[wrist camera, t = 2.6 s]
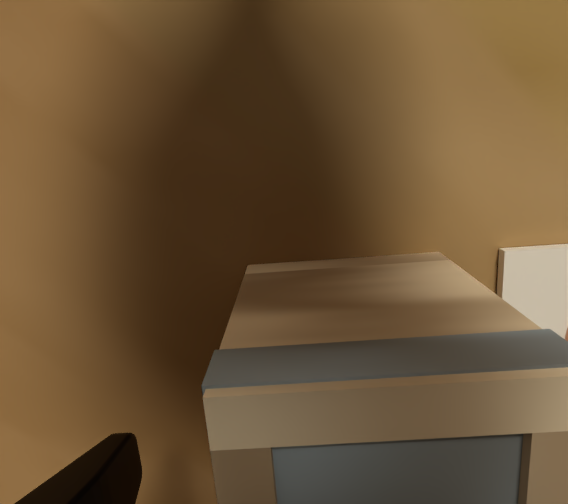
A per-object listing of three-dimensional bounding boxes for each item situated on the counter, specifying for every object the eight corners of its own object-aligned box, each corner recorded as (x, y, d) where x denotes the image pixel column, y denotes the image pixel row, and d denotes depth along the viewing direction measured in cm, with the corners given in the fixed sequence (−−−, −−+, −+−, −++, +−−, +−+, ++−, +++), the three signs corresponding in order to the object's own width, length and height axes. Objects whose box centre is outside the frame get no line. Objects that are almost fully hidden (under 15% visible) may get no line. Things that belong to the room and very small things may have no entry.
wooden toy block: (262, 429, 13) (238, 679, 7) (245, 263, 11) (198, 393, 5) (437, 419, 12) (568, 666, 7) (441, 249, 11) (606, 370, 5)
